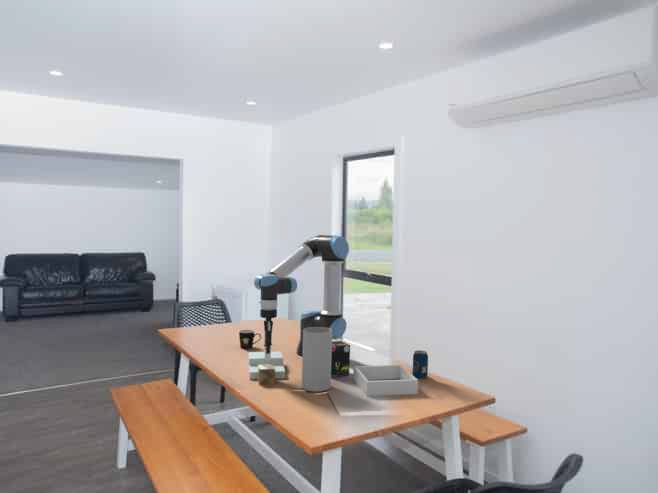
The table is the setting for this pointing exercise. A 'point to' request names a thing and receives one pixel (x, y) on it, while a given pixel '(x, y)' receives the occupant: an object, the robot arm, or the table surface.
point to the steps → (259, 358)
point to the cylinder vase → (316, 359)
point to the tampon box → (340, 359)
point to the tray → (386, 387)
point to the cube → (266, 374)
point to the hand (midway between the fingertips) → (267, 359)
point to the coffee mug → (247, 338)
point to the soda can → (420, 364)
